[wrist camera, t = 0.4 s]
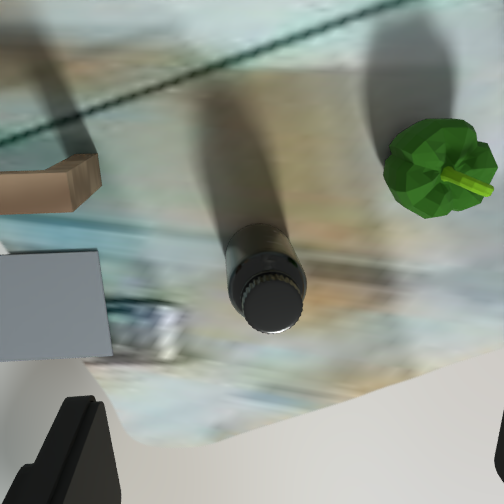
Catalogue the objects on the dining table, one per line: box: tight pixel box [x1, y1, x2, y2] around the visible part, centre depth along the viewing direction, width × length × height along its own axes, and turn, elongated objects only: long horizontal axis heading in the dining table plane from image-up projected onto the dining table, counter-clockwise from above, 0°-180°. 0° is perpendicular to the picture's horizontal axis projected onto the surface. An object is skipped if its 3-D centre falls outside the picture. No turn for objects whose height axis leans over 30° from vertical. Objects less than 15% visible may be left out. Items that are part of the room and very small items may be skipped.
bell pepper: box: [383, 118, 498, 219], centre depth 40 cm, size 8×8×10 cm
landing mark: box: [0, 251, 113, 362], centre depth 47 cm, size 12×12×1 cm
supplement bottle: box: [226, 224, 307, 334], centre depth 41 cm, size 7×7×12 cm
